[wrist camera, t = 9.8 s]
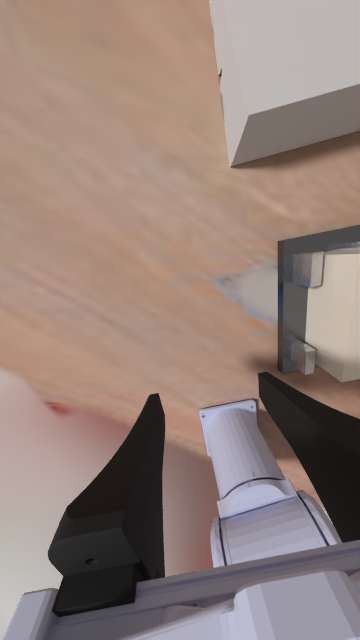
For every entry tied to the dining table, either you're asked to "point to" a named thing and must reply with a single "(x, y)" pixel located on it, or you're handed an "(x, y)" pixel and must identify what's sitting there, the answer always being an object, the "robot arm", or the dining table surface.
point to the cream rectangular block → (336, 315)
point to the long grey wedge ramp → (286, 73)
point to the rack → (303, 291)
